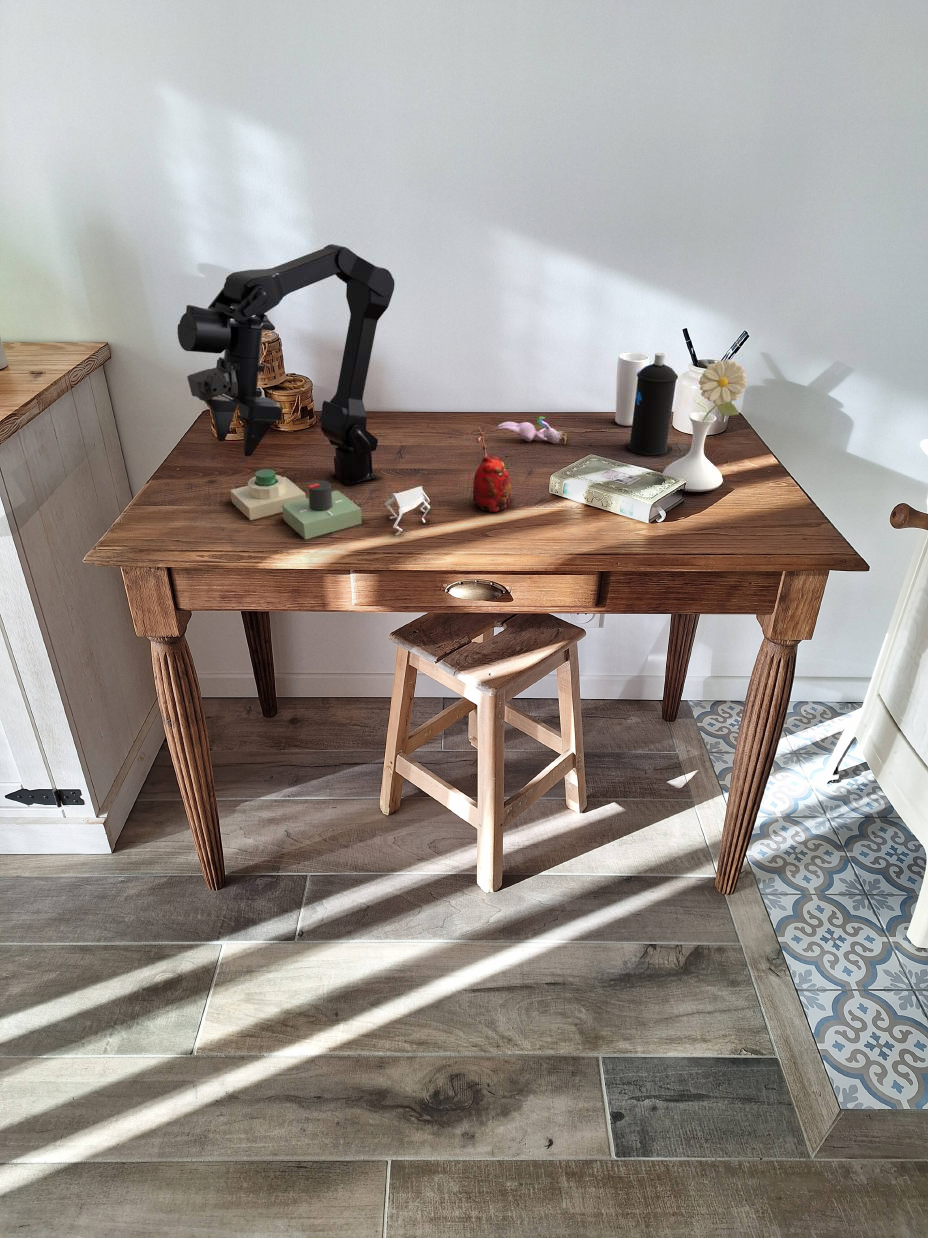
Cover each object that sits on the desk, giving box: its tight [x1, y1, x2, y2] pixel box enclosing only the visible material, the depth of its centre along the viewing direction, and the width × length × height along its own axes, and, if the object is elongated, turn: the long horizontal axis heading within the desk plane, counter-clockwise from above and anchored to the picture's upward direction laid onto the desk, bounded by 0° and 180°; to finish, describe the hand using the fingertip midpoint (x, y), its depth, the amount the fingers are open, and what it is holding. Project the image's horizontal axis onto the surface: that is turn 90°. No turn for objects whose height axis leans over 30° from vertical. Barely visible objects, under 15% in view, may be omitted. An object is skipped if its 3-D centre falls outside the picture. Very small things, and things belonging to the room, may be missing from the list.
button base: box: [229, 474, 307, 521], centre depth 156 cm, size 11×9×4 cm
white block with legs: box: [384, 485, 431, 536], centre depth 149 cm, size 12×8×5 cm
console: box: [282, 490, 363, 540], centre depth 150 cm, size 11×9×3 cm
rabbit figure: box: [497, 416, 568, 445], centre depth 182 cm, size 6×6×15 cm
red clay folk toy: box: [472, 426, 512, 513], centre depth 153 cm, size 8×7×15 cm
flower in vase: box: [662, 358, 748, 493], centre depth 158 cm, size 13×11×25 cm
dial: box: [307, 480, 333, 511], centre depth 148 cm, size 4×4×4 cm
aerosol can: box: [627, 352, 679, 457], centre depth 175 cm, size 8×8×20 cm
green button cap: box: [254, 468, 277, 486], centre depth 154 cm, size 4×4×2 cm
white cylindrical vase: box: [614, 352, 650, 427], centre depth 190 cm, size 7×7×15 cm
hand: (234, 448), depth 145 cm, fingers open, 9 cm apart
